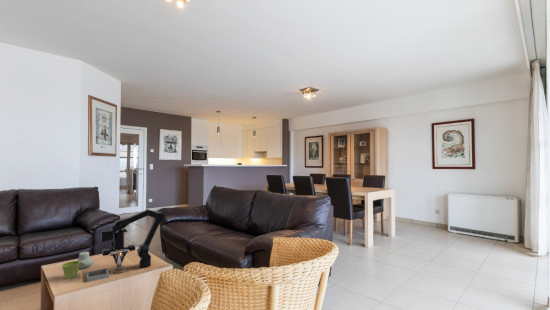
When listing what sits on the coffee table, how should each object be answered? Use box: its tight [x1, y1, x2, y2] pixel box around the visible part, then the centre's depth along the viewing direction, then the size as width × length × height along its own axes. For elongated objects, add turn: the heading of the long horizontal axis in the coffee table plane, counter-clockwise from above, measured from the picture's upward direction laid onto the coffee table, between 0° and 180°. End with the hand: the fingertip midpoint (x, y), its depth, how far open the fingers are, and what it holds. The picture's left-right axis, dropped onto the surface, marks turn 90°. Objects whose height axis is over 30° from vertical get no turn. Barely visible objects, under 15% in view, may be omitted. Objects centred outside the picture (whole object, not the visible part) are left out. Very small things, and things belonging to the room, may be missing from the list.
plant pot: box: [61, 260, 80, 280], centre depth 173 cm, size 9×9×9 cm
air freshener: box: [76, 251, 94, 270], centre depth 190 cm, size 11×8×10 cm
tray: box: [86, 267, 110, 283], centre depth 172 cm, size 11×11×3 cm
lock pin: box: [115, 251, 123, 268], centre depth 179 cm, size 4×4×9 cm
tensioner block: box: [109, 266, 129, 277], centre depth 180 cm, size 10×11×2 cm
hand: (119, 262), depth 179 cm, fingers closed on lock pin, 3 cm apart
